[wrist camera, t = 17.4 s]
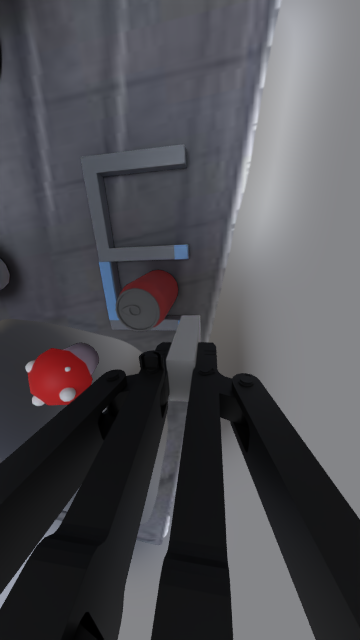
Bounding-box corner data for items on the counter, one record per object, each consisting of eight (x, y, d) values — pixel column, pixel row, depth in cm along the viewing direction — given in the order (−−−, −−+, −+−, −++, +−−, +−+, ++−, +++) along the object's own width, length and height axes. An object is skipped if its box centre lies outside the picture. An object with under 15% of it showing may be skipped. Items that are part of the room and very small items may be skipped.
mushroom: (56, 364, 45) (7, 404, 34) (65, 323, 41) (11, 354, 30) (101, 383, 46) (65, 430, 35) (114, 345, 41) (78, 384, 30)
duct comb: (87, 161, 30) (78, 155, 28) (186, 150, 28) (183, 142, 26) (116, 325, 40) (110, 330, 37) (191, 326, 37) (190, 331, 35)
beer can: (139, 269, 35) (106, 283, 24) (178, 269, 34) (162, 284, 23) (143, 306, 37) (115, 334, 26) (179, 307, 36) (165, 337, 25)
